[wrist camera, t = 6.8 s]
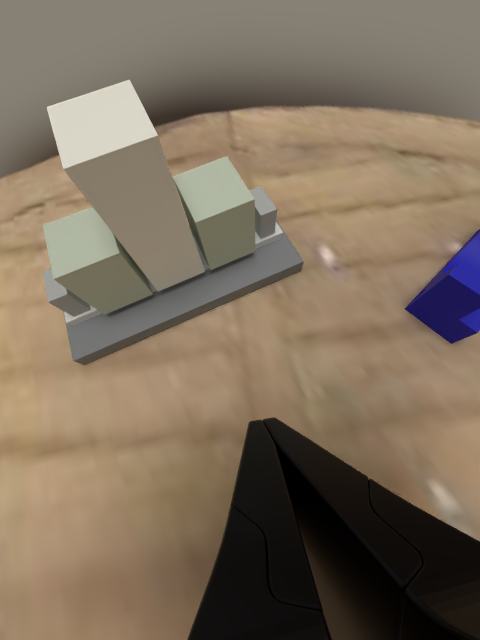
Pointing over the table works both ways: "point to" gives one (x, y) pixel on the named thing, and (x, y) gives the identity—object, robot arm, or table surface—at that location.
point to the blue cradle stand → (453, 295)
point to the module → (127, 180)
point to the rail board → (135, 288)
